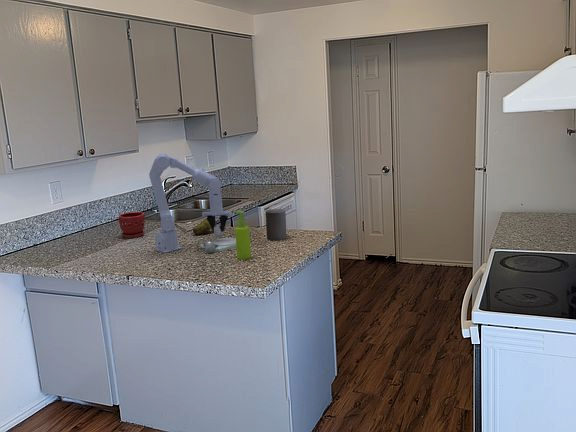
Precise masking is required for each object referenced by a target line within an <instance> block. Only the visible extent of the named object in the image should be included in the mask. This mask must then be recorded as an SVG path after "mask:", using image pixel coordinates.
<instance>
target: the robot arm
mask: <svg viewBox="0 0 576 432" xmlns="http://www.w3.org/2000/svg"><path fill="white" fill-rule="evenodd" d="M169 167H170V168H171V169H172V168H173V169H179V170H180V171H182V172H184V173H187V174H189V175H191V176H192V180H194V181H195V182H197V183H199V184H201V185H203V186H205V187H206V186H207V187H208V192H209V193H208V197H209V198H208V199H209V209H210V211H202V212H201V217H206V218H205V219H207V221H208V222H209V224H210V226H211V228H212V229H211V231H212V233H214V227H213V226H214V225H215V220H216V217H218V219H219V225H221V232H225V229H226V225H227V221H228V218H229V217H232V216H233V211H226V210H225V211H224V209H223V198H222V197H223V196H222V189H221V188H222V183H221V180H220V179H219V178H218V177H216V176H215V175H214V174H213V173H212V174H210V173H208V172H207V171H205V169H203V168H197V169H195V168H194V167H191V165H188V164H186V163H185V162H183V161H181V160H179V159H178V158H175V157H173V156H171V155H168V154H166V153H160V154H158V155H157V156H156V157H155V159H154V160H153V162H152V165H151V167H150V171H149V173H148V174H149V175H148V176H149V179H150V180H149V181H150V183H151V187H152V190H153V193H154V198H155V201H156V205H157V209H158V211H159V216H160V227H161V229H160V231H159V232H158V233H156V234H155V246H156V247H155V248H156V249H155V251H157V252H161V253H165V254H166V253H168V252H173V251H177V250H181V249H183V247H182V246H179V242H178V234H177V233H178V232H177V231H178V230H177V228H176V224H175V218H174V216H172V214H171V212H170V211H171V210H170V208H169V205H168V201H167V197H166V193H165V190H164V186H163V184H162V183H163V182H162V179H161V176H162V174H163V172H164V171H165V170H166V169H168V168H169Z"/></svg>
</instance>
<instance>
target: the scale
mask: <svg viewBox="0 0 576 432" xmlns="http://www.w3.org/2000/svg"><path fill="white" fill-rule="evenodd" d="M212 241H214V249H215V252H219V253H220V252H223V251H227V250H230V249H234V248H237V247H236V237H223V238H218V239H217V238H216V239H213V240H212ZM198 247H199V248H201V249H205V242H204V243H201V244H199V245H198Z"/></svg>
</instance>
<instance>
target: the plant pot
mask: <svg viewBox="0 0 576 432" xmlns="http://www.w3.org/2000/svg"><path fill="white" fill-rule="evenodd" d="M145 218H146V217H145V213H144V212H142V211H141V212H140V211H132V212H131V211H130V212H124V213H121V214H119V215H118V224H119V227H120V229H121V236H122V238H126V239H135V238H139V237H142V236H143V235H144V234H145V231H144V229H145V225H146V224H145V223H146V219H145Z"/></svg>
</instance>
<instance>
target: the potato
mask: <svg viewBox="0 0 576 432" xmlns="http://www.w3.org/2000/svg"><path fill="white" fill-rule="evenodd" d="M215 225H217V220H216V219H215ZM210 230H211V231H212V228H211V226H210V224H209V222H208V221H207V219H206V218H204V219H203V220H202V221H201V222H200V223H199V224H197V225H195V226H194V227H193V228H192V233H193V234H194V235H196V236H198V235H203V234H206V233H208V232H209V231H210Z"/></svg>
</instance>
